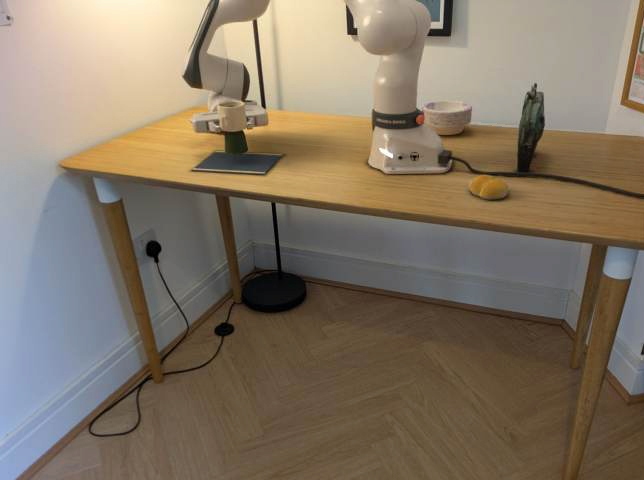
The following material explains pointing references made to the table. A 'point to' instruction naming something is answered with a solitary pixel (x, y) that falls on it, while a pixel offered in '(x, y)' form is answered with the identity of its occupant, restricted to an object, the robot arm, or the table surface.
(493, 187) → the bread roll
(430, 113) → the paper bowls
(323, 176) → the table surface
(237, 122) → the character mug
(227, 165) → the napkin
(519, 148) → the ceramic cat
